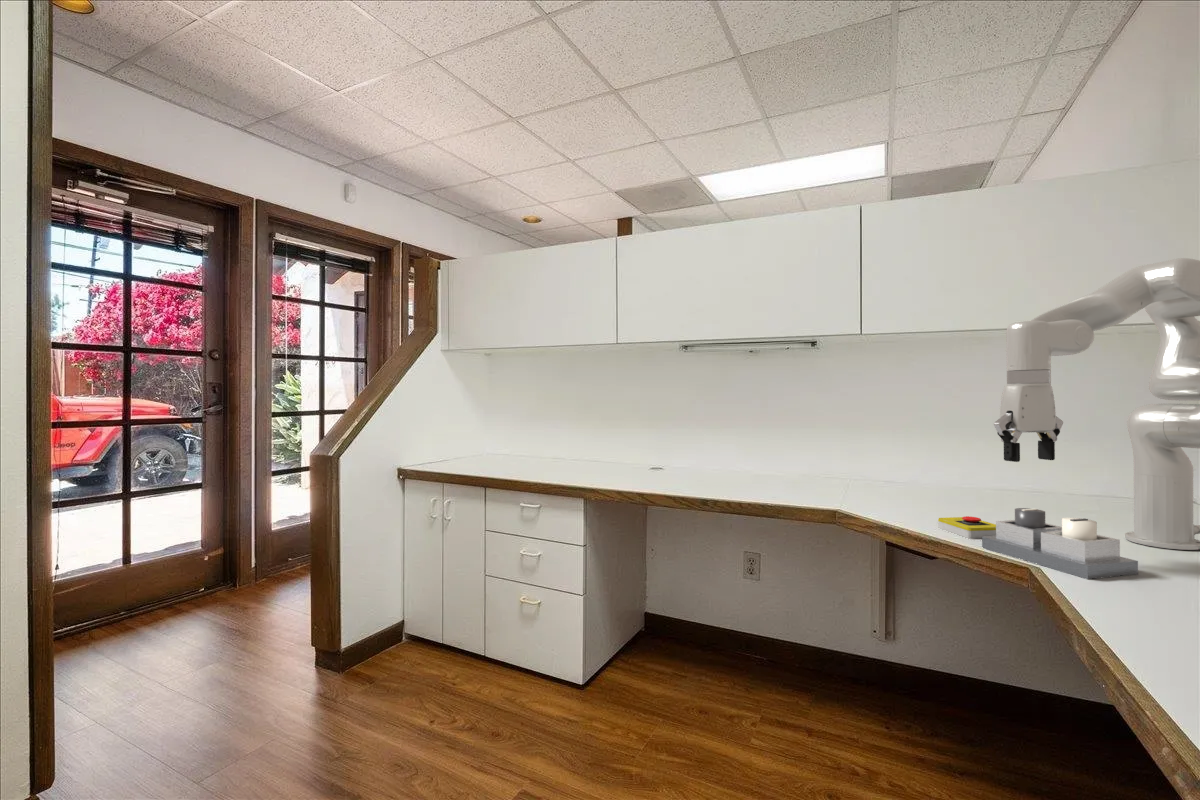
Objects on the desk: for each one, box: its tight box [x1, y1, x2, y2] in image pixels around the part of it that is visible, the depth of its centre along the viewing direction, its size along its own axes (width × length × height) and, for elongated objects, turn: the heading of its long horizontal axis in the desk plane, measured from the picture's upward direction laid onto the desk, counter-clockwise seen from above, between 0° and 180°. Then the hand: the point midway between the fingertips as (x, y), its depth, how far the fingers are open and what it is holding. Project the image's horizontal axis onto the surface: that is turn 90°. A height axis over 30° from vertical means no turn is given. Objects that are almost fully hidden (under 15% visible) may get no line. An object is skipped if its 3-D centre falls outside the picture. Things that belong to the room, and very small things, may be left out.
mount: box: [981, 519, 1139, 580], centre depth 114 cm, size 12×22×6 cm, turn 12°
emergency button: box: [937, 516, 996, 541], centre depth 138 cm, size 9×4×15 cm
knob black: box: [1014, 507, 1046, 529], centre depth 119 cm, size 5×5×6 cm
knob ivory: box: [1061, 517, 1098, 541], centre depth 110 cm, size 5×5×6 cm
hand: (1029, 460), depth 119 cm, fingers open, 8 cm apart
